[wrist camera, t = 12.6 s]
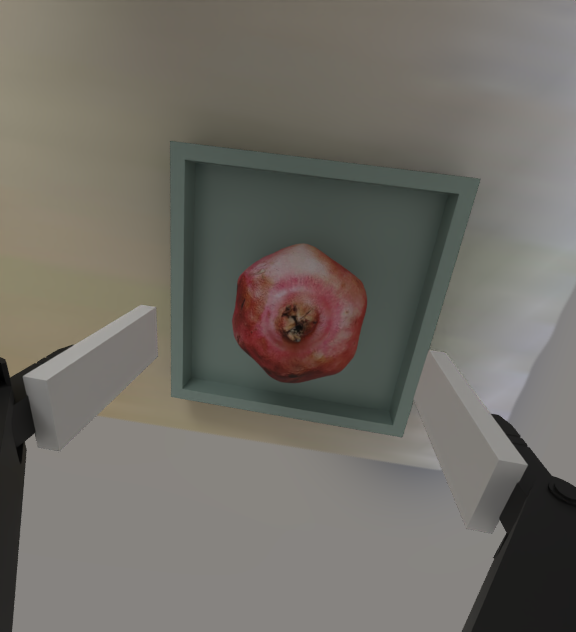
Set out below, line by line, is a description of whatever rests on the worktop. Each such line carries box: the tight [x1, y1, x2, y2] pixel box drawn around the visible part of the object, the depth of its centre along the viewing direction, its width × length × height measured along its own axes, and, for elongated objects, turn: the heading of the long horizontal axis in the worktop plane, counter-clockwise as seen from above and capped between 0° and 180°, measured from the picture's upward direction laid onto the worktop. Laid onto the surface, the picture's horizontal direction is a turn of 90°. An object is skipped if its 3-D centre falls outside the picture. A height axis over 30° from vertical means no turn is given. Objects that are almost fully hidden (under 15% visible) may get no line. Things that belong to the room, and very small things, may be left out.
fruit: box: [232, 243, 367, 383], centre depth 21 cm, size 9×10×10 cm
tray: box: [170, 141, 480, 437], centre depth 25 cm, size 20×20×2 cm
